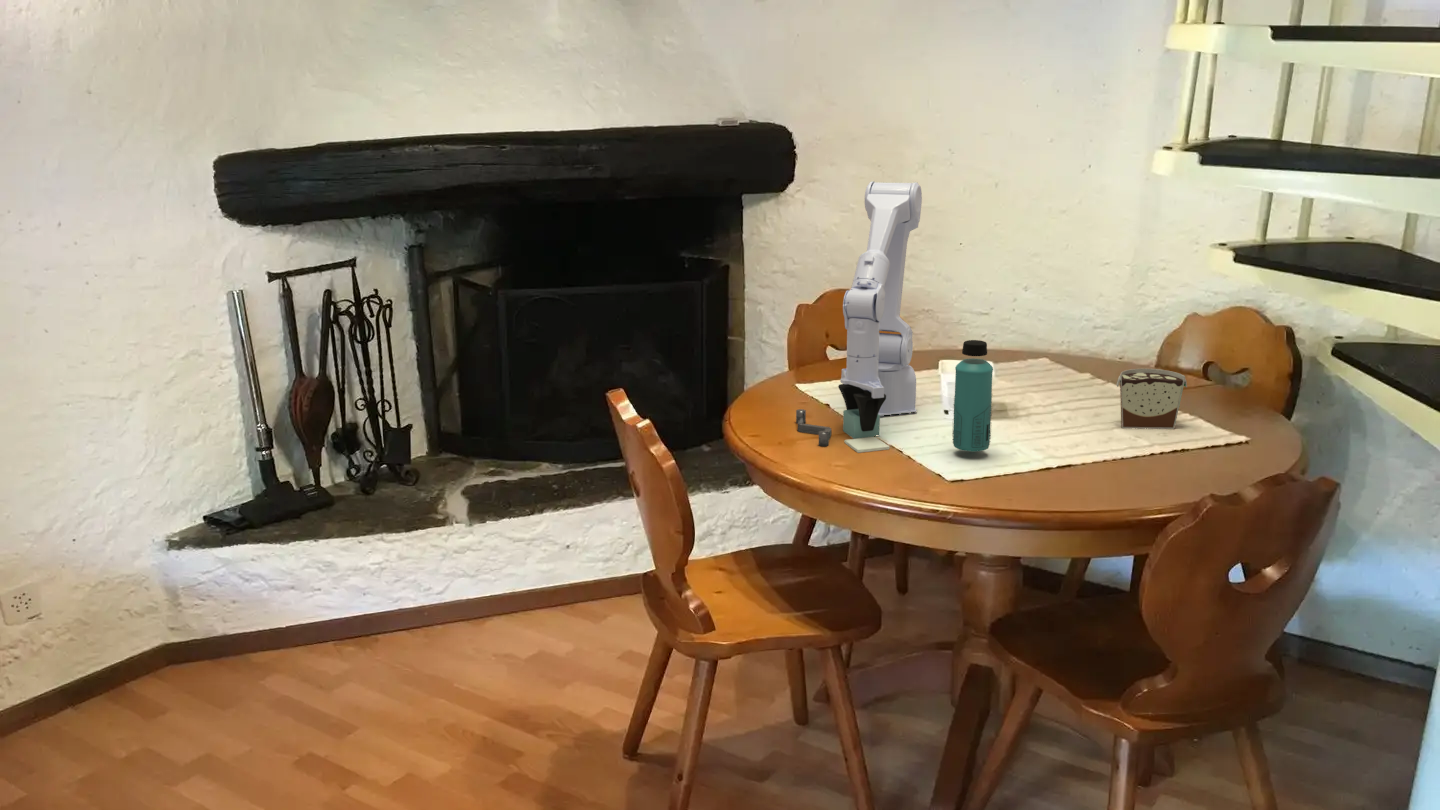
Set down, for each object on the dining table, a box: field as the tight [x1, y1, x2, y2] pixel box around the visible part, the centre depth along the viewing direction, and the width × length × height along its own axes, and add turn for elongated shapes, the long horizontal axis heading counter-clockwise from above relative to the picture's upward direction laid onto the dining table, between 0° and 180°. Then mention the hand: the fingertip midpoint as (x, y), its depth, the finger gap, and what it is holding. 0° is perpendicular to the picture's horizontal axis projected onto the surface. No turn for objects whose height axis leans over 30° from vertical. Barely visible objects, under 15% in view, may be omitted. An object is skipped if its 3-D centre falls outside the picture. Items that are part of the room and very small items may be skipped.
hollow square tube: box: [842, 409, 881, 439], centre depth 204 cm, size 5×5×4 cm
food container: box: [1115, 368, 1188, 430], centre depth 206 cm, size 12×6×10 cm, turn 84°
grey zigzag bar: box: [795, 408, 832, 448], centre depth 205 cm, size 5×16×2 cm, turn 17°
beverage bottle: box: [951, 339, 994, 452], centre depth 190 cm, size 6×7×20 cm
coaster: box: [843, 436, 890, 454], centre depth 197 cm, size 6×6×1 cm
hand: (861, 426), depth 204 cm, fingers closed on hollow square tube, 5 cm apart
